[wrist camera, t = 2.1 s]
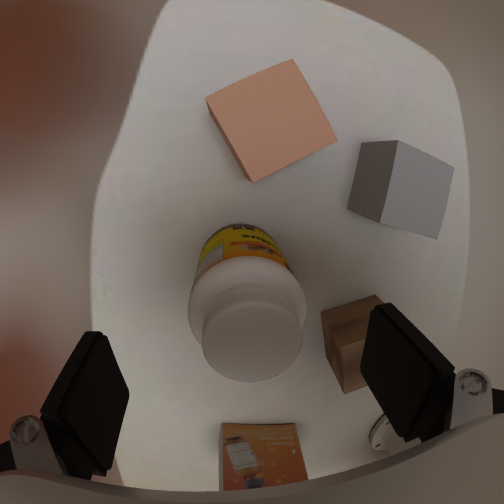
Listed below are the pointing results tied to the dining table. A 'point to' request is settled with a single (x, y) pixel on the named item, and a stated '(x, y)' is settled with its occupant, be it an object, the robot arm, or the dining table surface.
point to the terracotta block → (270, 120)
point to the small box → (259, 456)
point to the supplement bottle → (246, 305)
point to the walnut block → (347, 340)
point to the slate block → (401, 187)
